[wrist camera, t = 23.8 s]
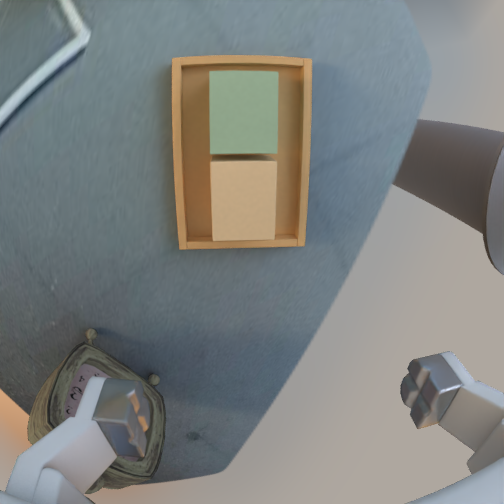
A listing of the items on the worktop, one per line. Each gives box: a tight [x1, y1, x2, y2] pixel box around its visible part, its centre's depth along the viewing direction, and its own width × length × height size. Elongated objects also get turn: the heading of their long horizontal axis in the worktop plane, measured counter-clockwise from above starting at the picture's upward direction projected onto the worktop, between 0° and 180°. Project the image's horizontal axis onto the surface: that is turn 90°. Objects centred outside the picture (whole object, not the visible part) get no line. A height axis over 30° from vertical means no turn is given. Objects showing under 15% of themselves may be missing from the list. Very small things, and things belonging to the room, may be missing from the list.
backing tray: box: [172, 55, 312, 250], centre depth 29 cm, size 13×19×2 cm
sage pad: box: [209, 71, 278, 154], centre depth 26 cm, size 6×7×4 cm
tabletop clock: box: [27, 328, 166, 504], centre depth 28 cm, size 14×9×25 cm, turn 42°
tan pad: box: [210, 155, 277, 241], centre depth 29 cm, size 6×7×4 cm
